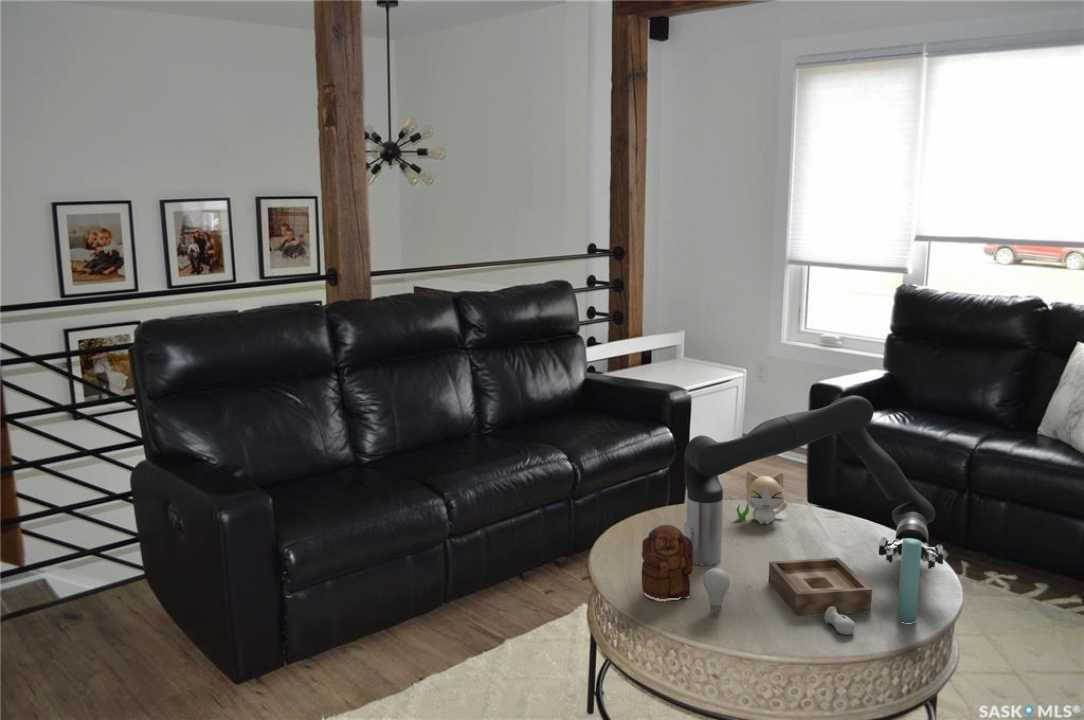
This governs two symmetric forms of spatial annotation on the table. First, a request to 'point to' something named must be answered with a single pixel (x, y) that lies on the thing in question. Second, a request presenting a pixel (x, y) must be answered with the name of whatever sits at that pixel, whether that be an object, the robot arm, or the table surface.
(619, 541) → the table surface
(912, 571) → the peg
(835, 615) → the pale two-lobed sculpture
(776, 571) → the box
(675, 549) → the wooden figurine
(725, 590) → the lightbulb
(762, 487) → the kitten
